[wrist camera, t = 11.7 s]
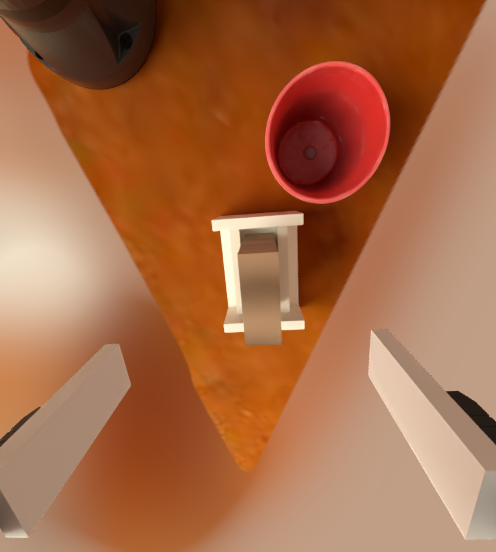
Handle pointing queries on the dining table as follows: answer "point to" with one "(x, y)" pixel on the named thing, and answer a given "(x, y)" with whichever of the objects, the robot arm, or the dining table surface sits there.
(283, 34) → the dining table surface
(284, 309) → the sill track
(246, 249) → the walnut panel
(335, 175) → the flower pot
